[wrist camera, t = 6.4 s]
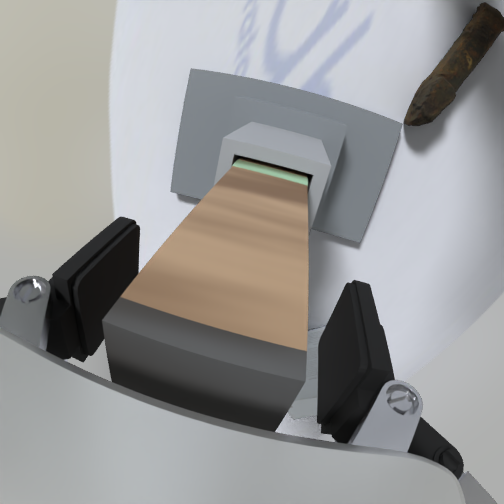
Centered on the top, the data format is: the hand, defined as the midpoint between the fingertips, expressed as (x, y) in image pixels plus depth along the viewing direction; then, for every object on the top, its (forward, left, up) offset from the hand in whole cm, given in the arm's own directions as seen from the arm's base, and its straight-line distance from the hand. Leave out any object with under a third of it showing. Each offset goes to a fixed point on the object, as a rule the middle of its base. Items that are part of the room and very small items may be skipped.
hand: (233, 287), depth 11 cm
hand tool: (-16, +16, -25) cm, 34 cm away
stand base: (0, 0, -25) cm, 25 cm away
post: (0, 0, -12) cm, 12 cm away
